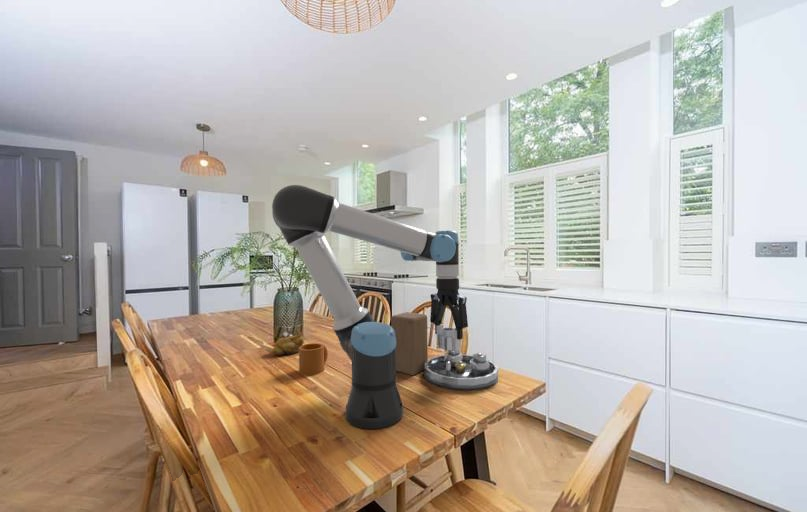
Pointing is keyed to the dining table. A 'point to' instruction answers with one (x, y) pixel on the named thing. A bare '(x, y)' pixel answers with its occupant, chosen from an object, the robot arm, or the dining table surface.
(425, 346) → the wooden block
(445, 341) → the gear
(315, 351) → the mug
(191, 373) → the dining table surface
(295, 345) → the bread roll
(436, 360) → the carrier
